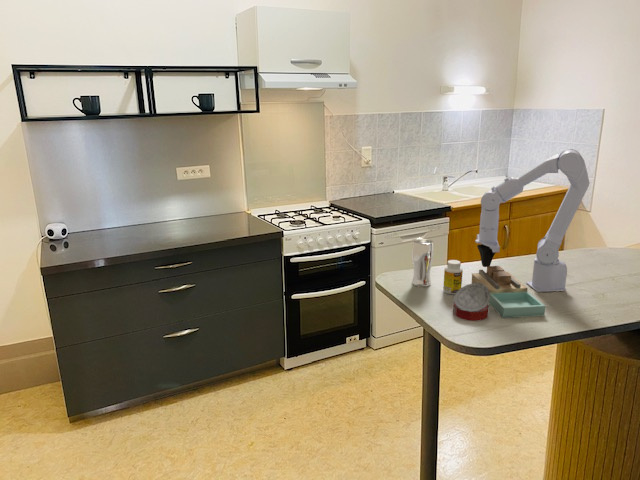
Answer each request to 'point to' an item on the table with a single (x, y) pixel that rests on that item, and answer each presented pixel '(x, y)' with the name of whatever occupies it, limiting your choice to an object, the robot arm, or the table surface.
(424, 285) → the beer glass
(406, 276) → the table surface
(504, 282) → the block
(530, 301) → the tray
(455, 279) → the supplement bottle
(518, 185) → the robot arm
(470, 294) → the canned food
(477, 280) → the slot deck
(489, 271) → the brown block
